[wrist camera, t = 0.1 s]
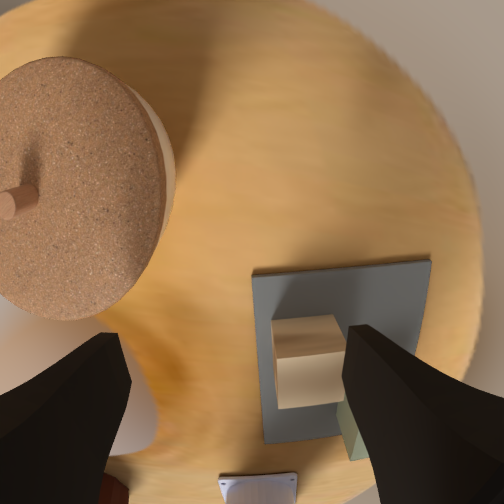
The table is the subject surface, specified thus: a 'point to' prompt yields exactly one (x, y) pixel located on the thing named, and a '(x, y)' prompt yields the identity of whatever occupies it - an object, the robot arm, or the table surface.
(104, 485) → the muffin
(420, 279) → the slate mat
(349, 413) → the green block
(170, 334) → the table surface
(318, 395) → the beech cube
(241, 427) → the table surface
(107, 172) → the lidded jar
